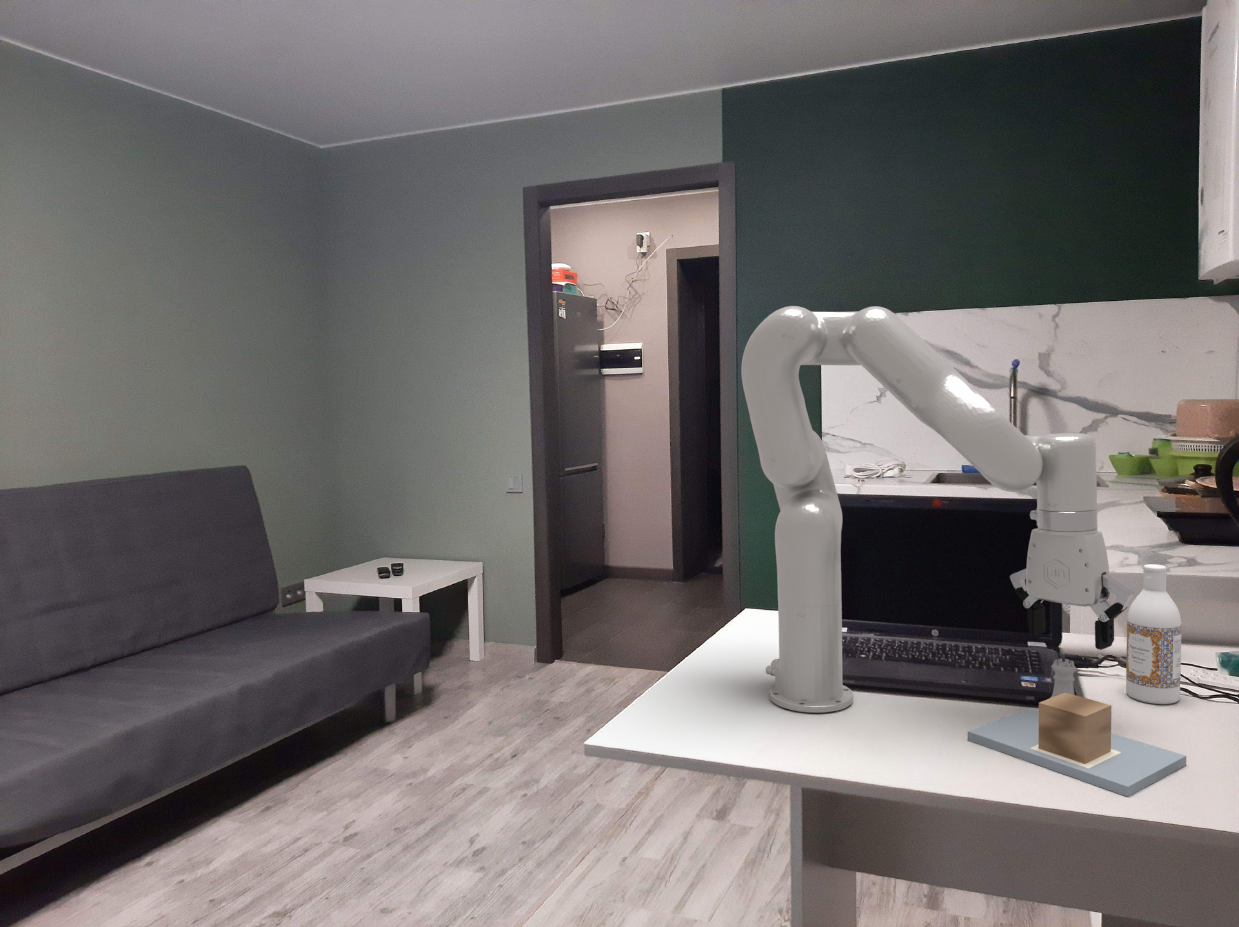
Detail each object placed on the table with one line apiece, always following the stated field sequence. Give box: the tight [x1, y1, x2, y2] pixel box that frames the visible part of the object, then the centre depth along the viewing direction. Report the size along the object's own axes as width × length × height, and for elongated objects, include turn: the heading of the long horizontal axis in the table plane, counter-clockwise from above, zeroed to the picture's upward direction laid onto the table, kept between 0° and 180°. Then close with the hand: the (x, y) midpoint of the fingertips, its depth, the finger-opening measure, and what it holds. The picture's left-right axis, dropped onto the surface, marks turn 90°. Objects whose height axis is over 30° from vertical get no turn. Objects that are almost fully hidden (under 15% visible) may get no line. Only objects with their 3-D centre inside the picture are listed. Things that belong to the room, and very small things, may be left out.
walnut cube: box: [1038, 693, 1112, 764], centre depth 112 cm, size 6×6×6 cm
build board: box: [967, 707, 1187, 798], centre depth 115 cm, size 21×14×1 cm, turn 34°
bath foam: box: [1125, 563, 1183, 705], centre depth 132 cm, size 7×7×20 cm
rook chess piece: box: [1050, 658, 1078, 698], centre depth 127 cm, size 4×4×8 cm
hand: (1069, 640), depth 126 cm, fingers open, 9 cm apart
